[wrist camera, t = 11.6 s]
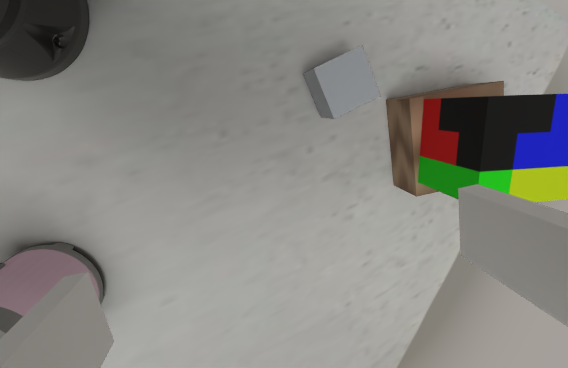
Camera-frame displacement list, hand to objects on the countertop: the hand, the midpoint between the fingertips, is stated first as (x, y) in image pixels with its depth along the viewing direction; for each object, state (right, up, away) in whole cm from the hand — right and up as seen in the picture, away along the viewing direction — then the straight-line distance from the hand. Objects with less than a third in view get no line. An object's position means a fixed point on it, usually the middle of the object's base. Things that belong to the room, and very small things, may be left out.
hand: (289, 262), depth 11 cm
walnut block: (+20, +10, +34) cm, 40 cm away
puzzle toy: (+21, +8, +28) cm, 36 cm away
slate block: (+6, +15, +30) cm, 34 cm away
